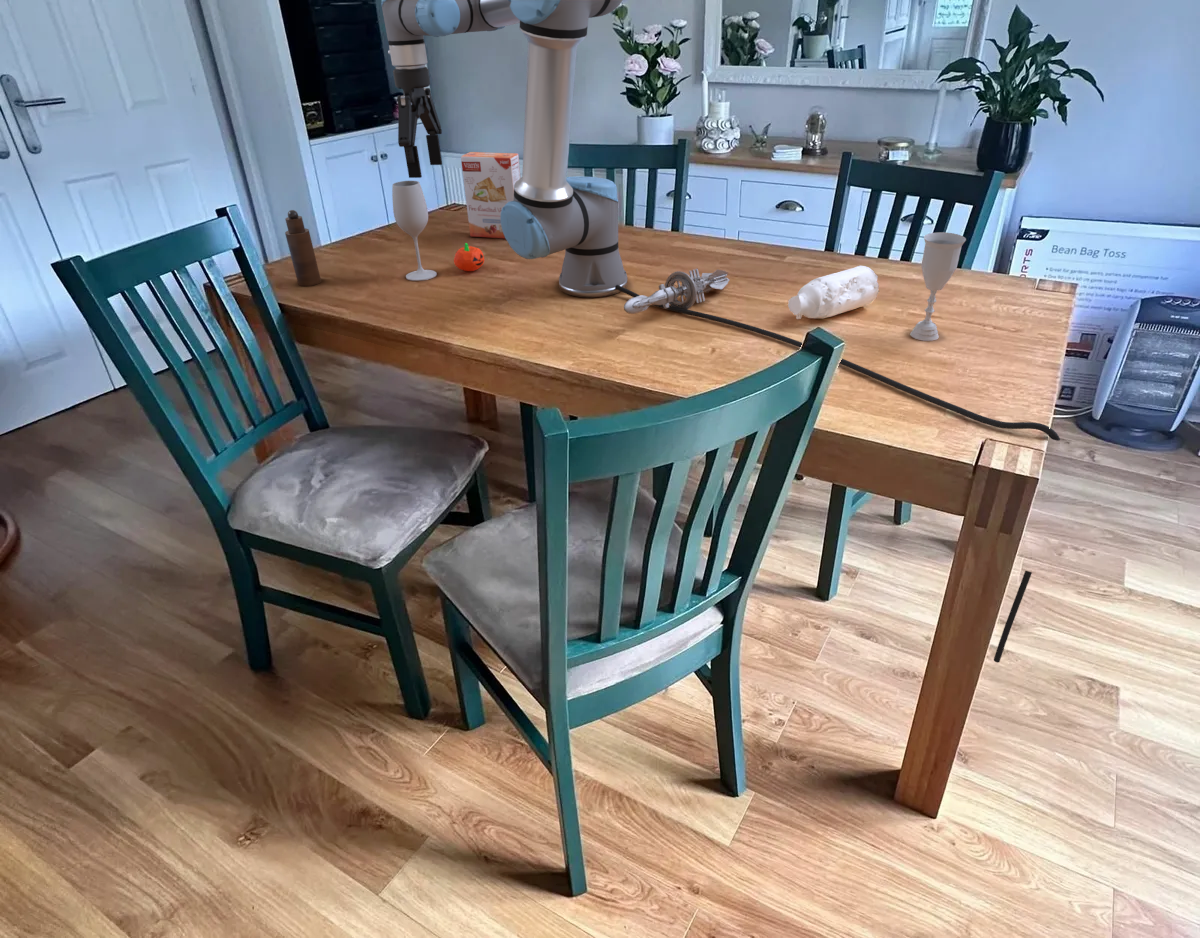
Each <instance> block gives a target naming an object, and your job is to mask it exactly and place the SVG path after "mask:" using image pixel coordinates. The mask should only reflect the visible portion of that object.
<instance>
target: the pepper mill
mask: <svg viewBox="0 0 1200 938" xmlns="http://www.w3.org/2000/svg"><path fill="white" fill-rule="evenodd" d="M284 219H285V224H286V228H287V230H286V231H284V235H285V239H286V242H287V246H288V250H289V253H290V258H291V261H292V266H293V269H294V273H295V277H296V281H297V285H298V286H300V287H312V286H317V285H318V284H320V283H322V278H321V275H320V270H319V266H318V262H317V257H316V253H315V250H314V246H313V242H312V237H311V233H310V229H309V228H306V227H305V223H304V220H303V216H301V215H299V213H298V211H296V210H294V209H290V210H289V211H288V212H287V217H285V218H284Z"/></svg>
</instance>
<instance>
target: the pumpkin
mask: <svg viewBox="0 0 1200 938" xmlns="http://www.w3.org/2000/svg"><path fill="white" fill-rule="evenodd" d="M453 262H454V263H453V264H454V265H455V267H456V268H458V269H459V270H462V271H464V272H474V271H476V270H478V269H480V268H481V267H482V266H483V265H484V263H485V256H484V253H483V250H481V248H478V247H476V246H472V245H469V244H468V242H465V243H464V246H463V247H460V248H458V250H457V251H456V252H455V254H454V258H453Z"/></svg>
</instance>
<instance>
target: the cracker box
mask: <svg viewBox="0 0 1200 938" xmlns="http://www.w3.org/2000/svg"><path fill="white" fill-rule="evenodd" d="M460 163H461V170H462V178H463V185H464V195H465V196H464V197H465V202H466V203H465V204H466V211H467V219H468V228H469V235H470V237H472V238H490V239H504V240H506V238H505V236H504V234H503V231H502V227H501V220H500V216H501V210H502V208H503V207H504V206H505V204H507V203H508V202H509V201H513V199H514V184H515V183H516V182H517V181H518V180H519V179H520V178H521V167H520V157H519V153H515V152H514V153H511V152H486V151H485V152H483V151H482V152H481V151H469V152H467V153H465V154H463V155H461V156H460Z"/></svg>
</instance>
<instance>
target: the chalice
mask: <svg viewBox="0 0 1200 938" xmlns="http://www.w3.org/2000/svg"><path fill="white" fill-rule="evenodd" d="M923 240H924V248H923V253H922V257H921V263H920V265H921V272H922V278H923V281H924V284H925V288H926V289H927V290H929V291H930V294H929V297H928V298H927V299H926V301H927V306H926V308H925V309H924V312H925V317H924V319H923V320H920V321H918V322H917V323H916V324H915V326H914V327H913V329H912V330H911V331H910V333H909V336H910V337H911V338H913V339H915V340H919V341H922V342H923V341H924V342H932V341H936V340H938V339H939V338H940V336H939V331H938V326H937V324H936V323H935V322H933V320H932V315H933V314H934V313H935V309H934V305H935V303H936V302H937V299H936V294H937V292H938V291H942V290H943V289H944V288H945V287H946V285H947V283H948V282H949V281H950V280H951V278H952V276H953V275H954V273H955V271H956V270H957V267H958V264H959V260H960V255H961V250H962V246H963V245H964V244H965V242H966V241H967V238H966V237H965V236H963V235H961V234H958V233H955V232H943V231H941V232H940V231H939V232H930V233H927V234H924V236H923Z"/></svg>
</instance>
